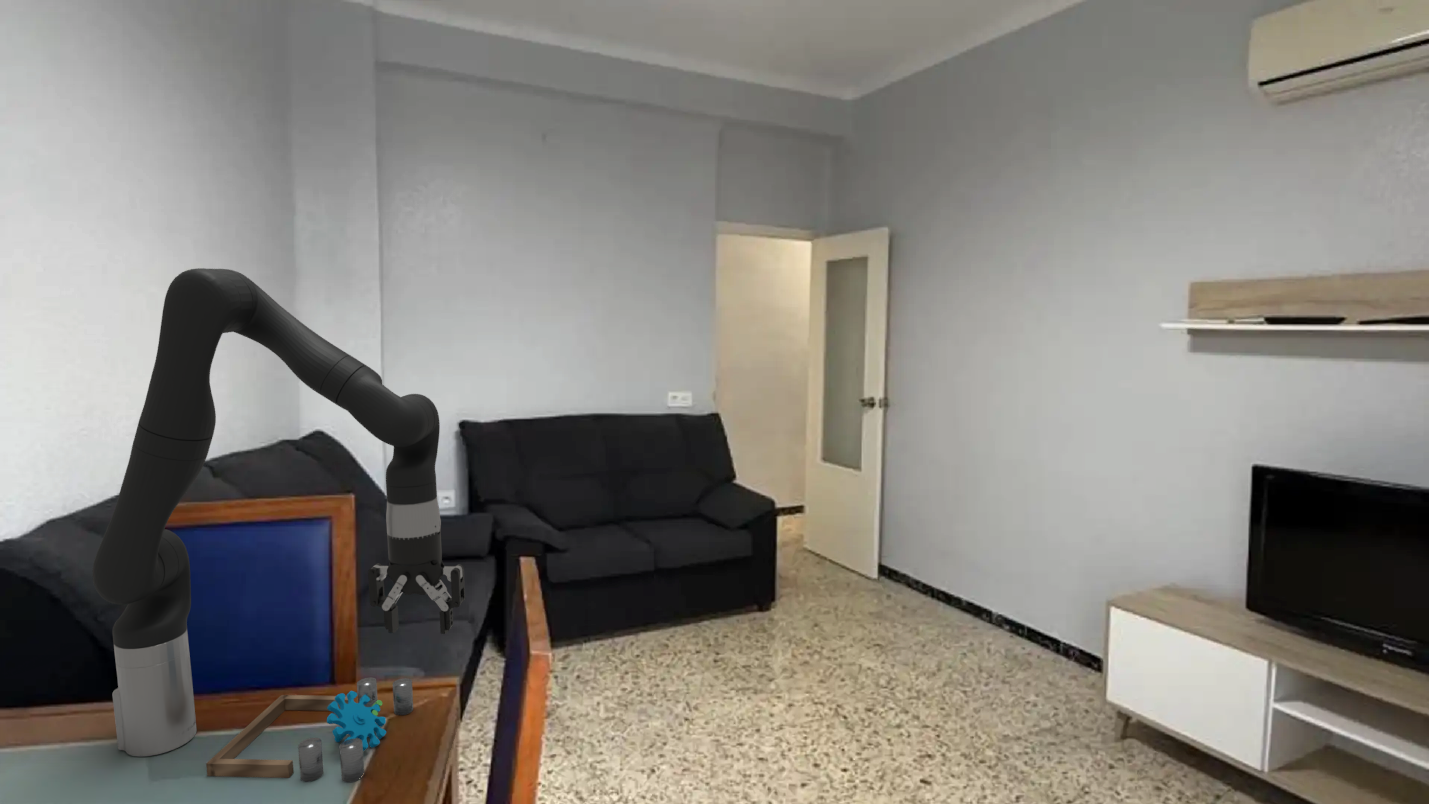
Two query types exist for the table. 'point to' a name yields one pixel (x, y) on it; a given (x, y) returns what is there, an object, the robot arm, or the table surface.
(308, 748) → the spacers
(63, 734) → the table surface
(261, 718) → the frame
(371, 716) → the gear
